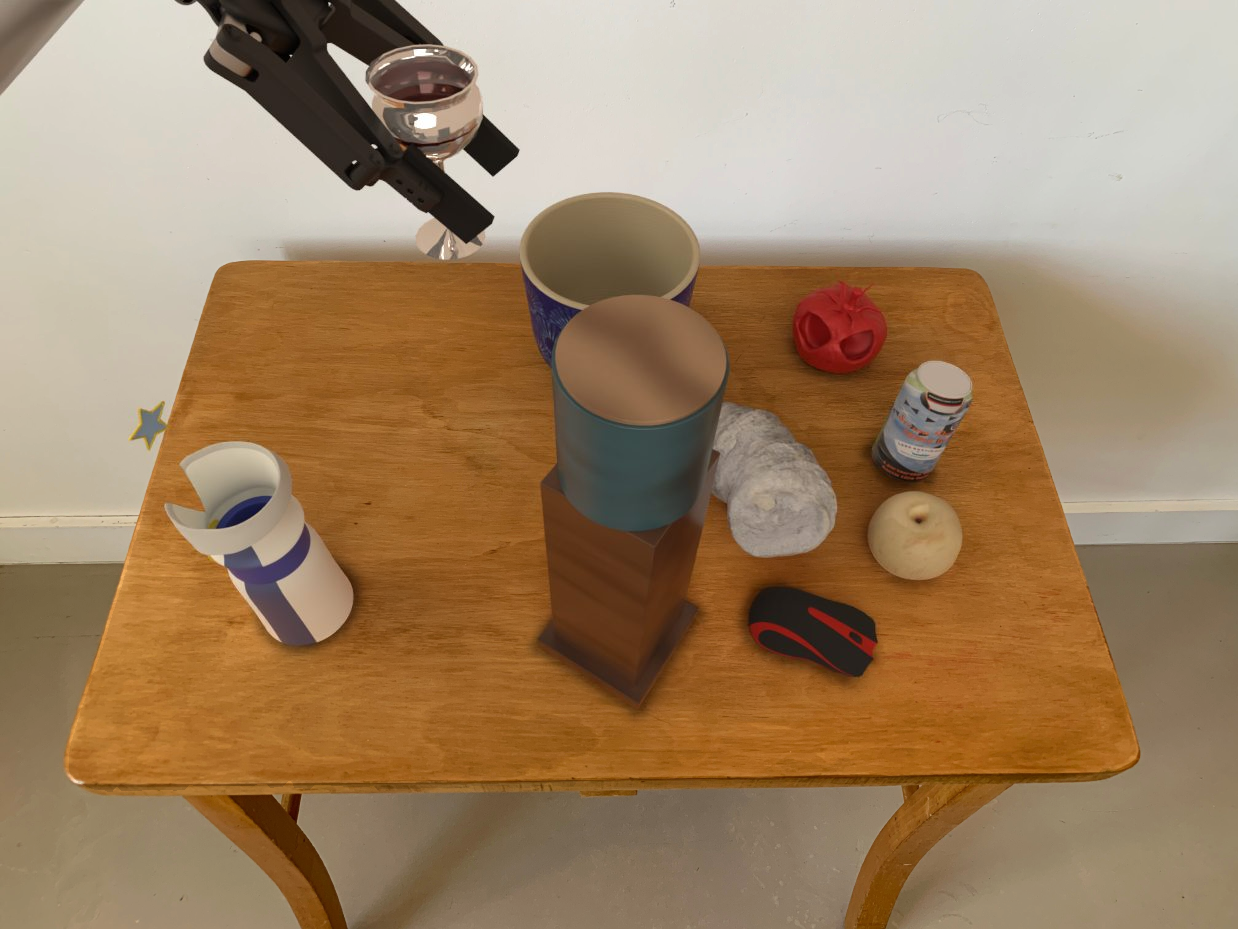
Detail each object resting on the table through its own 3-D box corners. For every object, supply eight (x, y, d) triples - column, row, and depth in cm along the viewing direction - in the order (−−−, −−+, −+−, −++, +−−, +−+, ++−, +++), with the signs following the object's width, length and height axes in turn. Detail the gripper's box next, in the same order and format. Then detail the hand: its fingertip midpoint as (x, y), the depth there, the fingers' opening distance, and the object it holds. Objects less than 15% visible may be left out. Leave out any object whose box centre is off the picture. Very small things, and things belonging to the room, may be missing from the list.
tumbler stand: (637, 710, 64) (677, 468, 36) (537, 646, 67) (500, 374, 39) (697, 615, 69) (774, 334, 41) (601, 559, 72) (611, 260, 43)
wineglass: (494, 269, 55) (473, 106, 45) (395, 267, 55) (354, 102, 45) (501, 207, 59) (484, 45, 49) (409, 205, 59) (374, 42, 49)
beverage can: (864, 480, 78) (904, 404, 68) (873, 425, 82) (911, 345, 72) (928, 497, 77) (978, 422, 67) (934, 440, 81) (981, 361, 71)
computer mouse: (862, 689, 66) (876, 673, 63) (738, 639, 68) (746, 620, 65) (878, 625, 69) (893, 606, 66) (760, 579, 72) (768, 558, 68)
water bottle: (245, 653, 66) (90, 492, 46) (269, 562, 71) (139, 379, 50) (344, 653, 66) (235, 493, 46) (362, 562, 71) (270, 380, 51)
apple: (967, 585, 71) (963, 571, 65) (875, 585, 75) (862, 572, 68) (961, 501, 74) (957, 479, 67) (872, 505, 77) (860, 485, 70)
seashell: (652, 432, 81) (659, 366, 72) (792, 426, 82) (815, 361, 74) (669, 573, 72) (680, 516, 63) (827, 565, 73) (858, 508, 64)
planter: (497, 352, 86) (482, 240, 74) (612, 282, 93) (616, 169, 81) (600, 447, 79) (602, 341, 67) (716, 364, 86) (738, 254, 74)
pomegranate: (802, 307, 92) (821, 243, 84) (885, 336, 90) (913, 273, 82) (773, 364, 87) (791, 301, 79) (861, 396, 84) (888, 335, 77)
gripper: (210, -126, 49) (493, 143, 61) (29, 30, 38) (420, 321, 50) (265, -229, 44) (558, 84, 57) (76, -87, 33) (494, 266, 45)
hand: (493, 195), depth 53 cm, fingers closed on wineglass, 7 cm apart
